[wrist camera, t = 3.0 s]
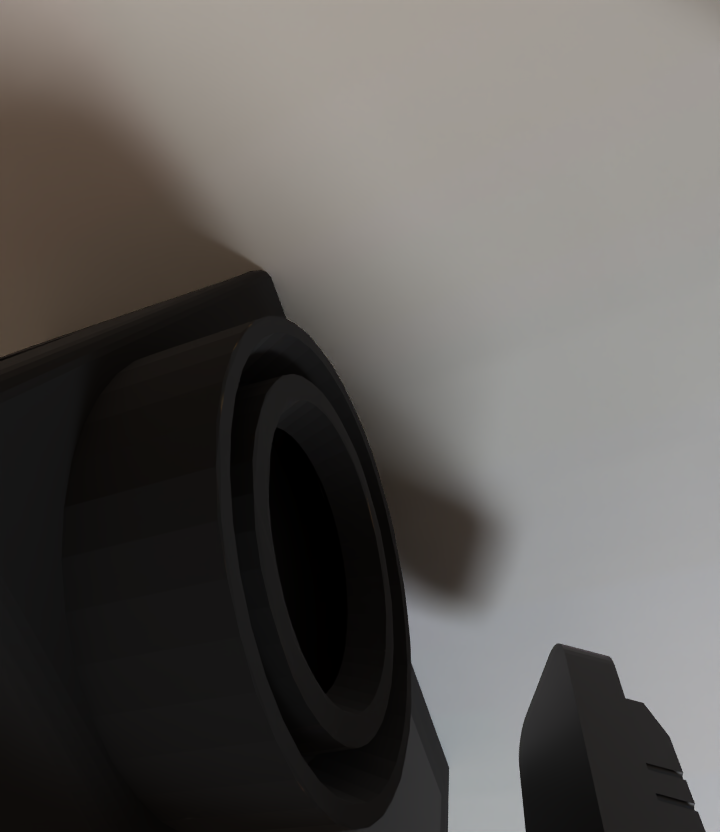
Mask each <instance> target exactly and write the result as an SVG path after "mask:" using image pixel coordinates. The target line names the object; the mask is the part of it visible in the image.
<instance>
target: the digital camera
mask: <svg viewBox="0 0 720 832" xmlns="http://www.w3.org/2000/svg"><path fill="white" fill-rule="evenodd" d="M448 792H449V766H448V764H447V761H446V758H445V755H444V753H443V750H442V747H441V744H440V741H439V739H438V736H437V733H436V730H435V728H434V725H433V722H432V719H431V717H430V714H429V711H428V708H427V706H426V703H425V700H424V697H423V694H422V692H421V689H420V686H419V683H418V681H417V678H416V675H415V672H414V670H413V667H412V664H411V647H410V635H409V625H408V615H407V606H406V598H405V589H404V583H403V578H402V572H401V567H400V561H399V556H398V550H397V545H396V539H395V534H394V529H393V525H392V521H391V517H390V513H389V509H388V505H387V502H386V498H385V495H384V491H383V488H382V484H381V481H380V477H379V474H378V471H377V467H376V464H375V461H374V457H373V454H372V451H371V449H370V446H369V443H368V441H367V438H366V435H365V433H364V430H363V428H362V425H361V423H360V421H359V418H358V416H357V414H356V412H355V409H354V407H353V405H352V403H351V400H350V398H349V396H348V394H347V392H346V390H345V388H344V386H343V384H342V382H341V380H340V379H339V377H338V375H337V373H336V371H335V370H334V368H333V366H332V365H331V363H330V362H329V360H328V359H327V358H326V356H325V355H324V354H323V352H322V351H321V349H320V348H319V347H318V346H317V344H316V343H315V342H314V341H313V340H312V338H311V337H310V336H309V335H308V334H307V333H306V332H305V331H303V330H302V329H301V328H300V327H298V326H297V325H296V324H295V323H293V322H291V321H289V320H287V319H286V317H285V314H284V312H283V309H282V306H281V303H280V301H279V298H278V295H277V292H276V290H275V287H274V284H273V282H272V279H271V277H270V276H269V275H268V274H267V273H266V272H264V271H262V270H260V271H250V272H248V273H245V274H243V275H240V276H238V277H235V278H232V279H229V280H226V281H223V282H220V283H217V284H214V285H212V286H209V287H206V288H203V289H200V290H197V291H194V292H191V293H188V294H185V295H182V296H179V297H176V298H173V299H170V300H167V301H164V302H161V303H158V304H155V305H152V306H149V307H147V308H144V309H141V310H138V311H135V312H132V313H129V314H126V315H123V316H120V317H117V318H114V319H111V320H108V321H105V322H102V323H99V324H96V325H93V326H90V327H87V328H84V329H81V330H79V331H76V332H73V333H70V334H67V335H64V336H61V337H58V338H55V339H52V340H49V341H46V342H43V343H40V344H37V345H34V346H31V347H28V348H26V349H23V350H20V351H17V352H15V353H12V354H9V355H6V356H4V357H1V358H0V832H448Z"/></svg>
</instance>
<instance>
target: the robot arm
mask: <svg viewBox="0 0 720 832" xmlns="http://www.w3.org/2000/svg"><path fill="white" fill-rule="evenodd" d="M519 768H520V778H521V788H522V798H523V808H524V818H525V828H526V832H705V829H704V827H703V824H702V821H701V819H700V816H699V813H698V812H697V811H695V810H694V805H695V803H694V800H693V798H692V795H691V792H690V790H689V787H688V784H687V782H686V780H683V777H682V775H683V771H682V769H681V766H680V763H679V761H678V758H677V755H676V753H675V750H674V747H673V745H672V742H671V740H670V737H669V736H668V734H667V733H666V732H665V730H664V729H663V728H662V727H661V725H660V724H659V723H658V721H657V720H656V719H655V717H654V716H653V715H652V714H651V712H650V711H649V710H648V708H647V707H646V706H645V705H644V703H641V702H638V701H634V700H630V699H626V698H625V696H624V693H623V690H622V687H621V684H620V681H619V677H618V674H617V671H616V668H615V665H614V663H613V661H612V659H611V658H610V657H609V656H606V655H602V654H598V653H594V652H590V651H586V650H582V649H578V648H575V647H571V646H567V645H563V644H559V643H558V644H556V645H555V646H554V647H553V649H552V650H551V652H550V655H549V657H548V660H547V662H546V665H545V668H544V670H543V673H542V675H541V678H540V681H539V683H538V686H537V688H536V691H535V694H534V696H533V699H532V701H531V704H530V707H529V709H528V712H527V714H526V717H525V720H524V723H523V727H522V732H521V738H520V747H519Z"/></svg>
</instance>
